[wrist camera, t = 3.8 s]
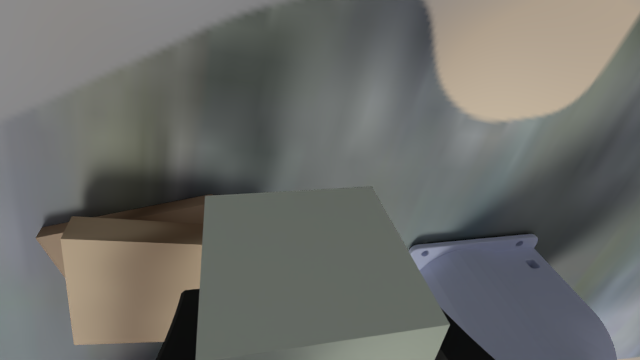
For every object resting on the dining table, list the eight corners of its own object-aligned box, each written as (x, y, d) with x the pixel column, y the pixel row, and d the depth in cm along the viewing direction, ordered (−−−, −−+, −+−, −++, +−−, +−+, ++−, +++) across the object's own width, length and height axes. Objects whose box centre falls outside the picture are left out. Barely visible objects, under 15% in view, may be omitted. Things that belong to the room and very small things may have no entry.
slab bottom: (212, 185, 19) (211, 202, 18) (244, 285, 24) (245, 304, 23) (47, 217, 18) (35, 238, 17) (114, 314, 23) (108, 336, 22)
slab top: (237, 225, 19) (238, 246, 18) (220, 317, 23) (220, 339, 22) (71, 216, 17) (60, 238, 16) (82, 320, 21) (74, 344, 20)
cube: (371, 186, 12) (450, 324, 8) (351, 293, 15) (401, 436, 10) (204, 195, 11) (194, 362, 7) (216, 309, 13) (215, 476, 9)
